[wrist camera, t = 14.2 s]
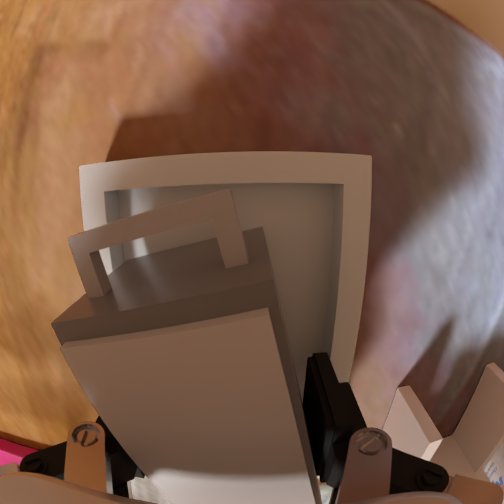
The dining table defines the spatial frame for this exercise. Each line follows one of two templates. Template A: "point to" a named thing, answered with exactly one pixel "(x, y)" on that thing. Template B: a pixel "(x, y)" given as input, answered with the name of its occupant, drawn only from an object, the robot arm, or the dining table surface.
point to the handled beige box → (192, 359)
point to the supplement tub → (496, 467)
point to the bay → (465, 435)
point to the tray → (274, 225)
